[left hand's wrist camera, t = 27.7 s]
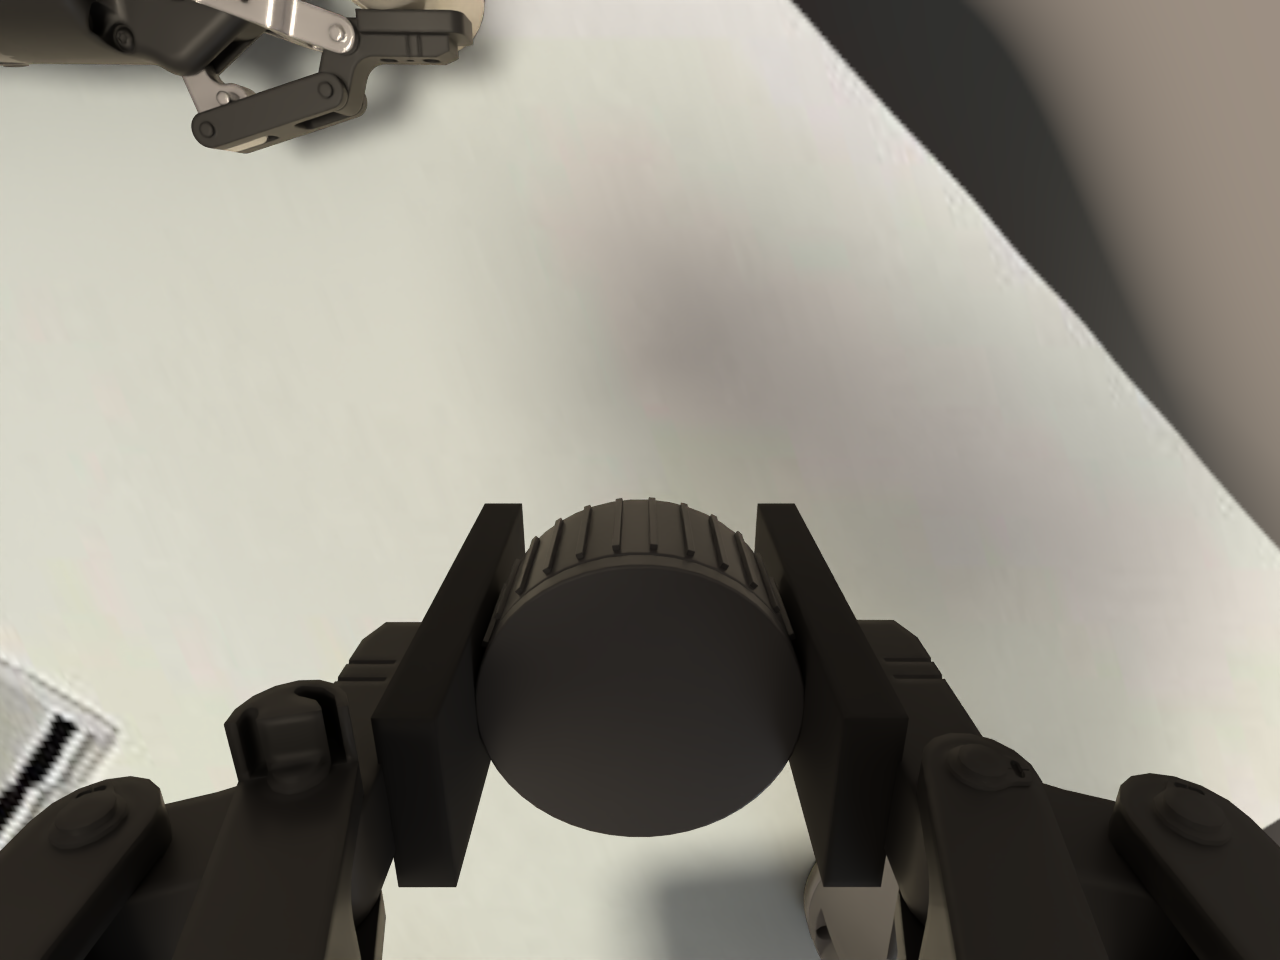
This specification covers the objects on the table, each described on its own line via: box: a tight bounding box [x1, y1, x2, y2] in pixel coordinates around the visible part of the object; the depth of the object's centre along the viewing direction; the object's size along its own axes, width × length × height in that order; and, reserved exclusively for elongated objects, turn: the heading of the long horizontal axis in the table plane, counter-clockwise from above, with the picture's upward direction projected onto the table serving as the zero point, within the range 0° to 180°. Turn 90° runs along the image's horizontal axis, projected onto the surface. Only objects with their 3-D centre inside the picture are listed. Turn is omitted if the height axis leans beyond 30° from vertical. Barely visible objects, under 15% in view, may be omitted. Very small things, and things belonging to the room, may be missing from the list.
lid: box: [475, 497, 805, 837], centre depth 11 cm, size 5×5×2 cm
